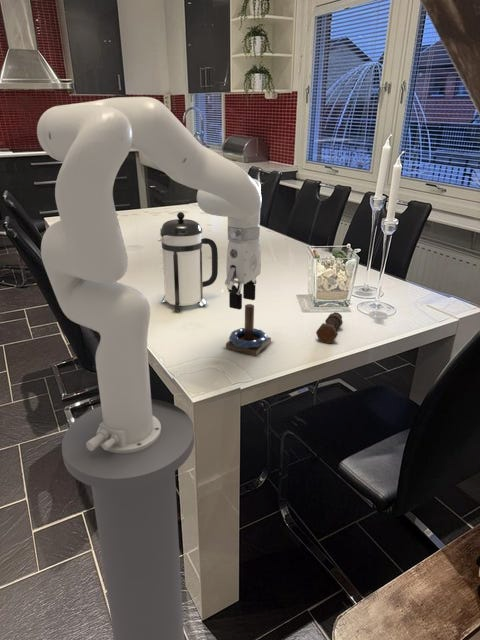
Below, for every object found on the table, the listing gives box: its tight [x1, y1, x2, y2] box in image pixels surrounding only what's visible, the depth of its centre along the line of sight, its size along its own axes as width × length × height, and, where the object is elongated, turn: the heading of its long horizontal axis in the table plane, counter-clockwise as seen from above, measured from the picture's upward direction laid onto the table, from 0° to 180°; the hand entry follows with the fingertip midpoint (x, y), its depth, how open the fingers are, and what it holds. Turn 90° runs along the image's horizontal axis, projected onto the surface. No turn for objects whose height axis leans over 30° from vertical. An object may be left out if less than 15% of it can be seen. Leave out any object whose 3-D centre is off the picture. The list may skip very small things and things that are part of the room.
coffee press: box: [157, 211, 219, 313], centre depth 148 cm, size 17×16×30 cm
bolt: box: [315, 311, 344, 344], centre depth 133 cm, size 6×5×15 cm
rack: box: [225, 303, 272, 357], centre depth 123 cm, size 9×9×12 cm
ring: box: [228, 327, 269, 348], centre depth 124 cm, size 10×10×2 cm
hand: (242, 303), depth 117 cm, fingers open, 6 cm apart
